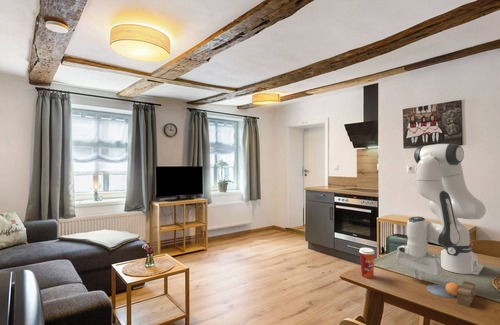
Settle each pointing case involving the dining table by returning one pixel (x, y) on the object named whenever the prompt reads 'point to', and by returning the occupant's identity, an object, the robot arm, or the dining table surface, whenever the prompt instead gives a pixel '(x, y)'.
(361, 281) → the dining table surface
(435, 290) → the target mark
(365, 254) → the paper cup
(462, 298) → the block
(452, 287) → the ball
